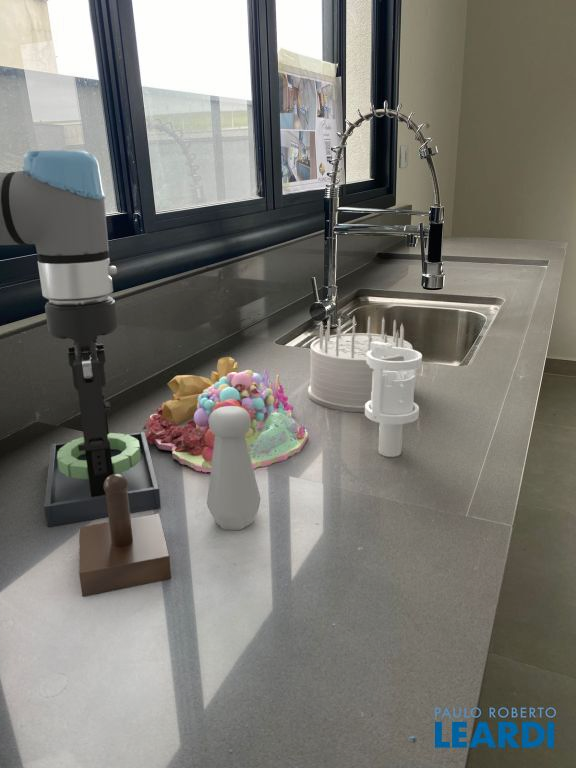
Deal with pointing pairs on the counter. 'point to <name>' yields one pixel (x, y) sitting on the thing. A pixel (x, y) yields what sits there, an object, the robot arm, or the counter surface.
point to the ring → (119, 462)
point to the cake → (347, 366)
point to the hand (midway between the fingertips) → (102, 477)
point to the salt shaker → (232, 470)
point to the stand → (121, 546)
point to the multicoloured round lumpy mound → (226, 388)
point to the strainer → (392, 394)
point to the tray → (75, 503)
